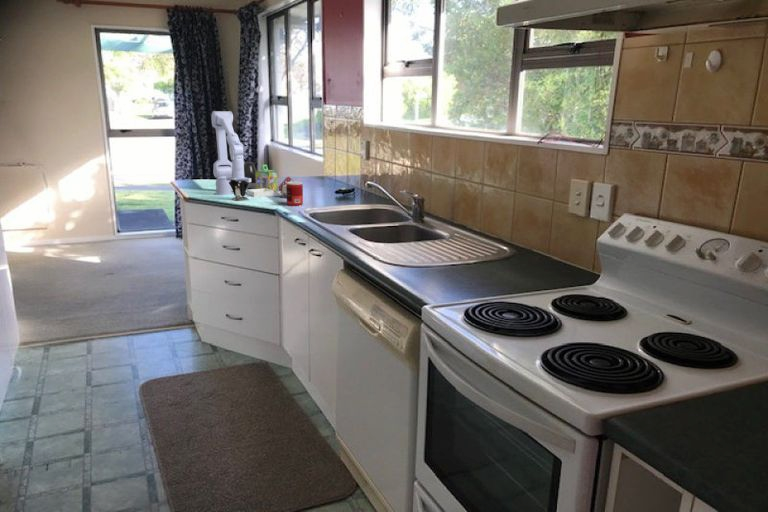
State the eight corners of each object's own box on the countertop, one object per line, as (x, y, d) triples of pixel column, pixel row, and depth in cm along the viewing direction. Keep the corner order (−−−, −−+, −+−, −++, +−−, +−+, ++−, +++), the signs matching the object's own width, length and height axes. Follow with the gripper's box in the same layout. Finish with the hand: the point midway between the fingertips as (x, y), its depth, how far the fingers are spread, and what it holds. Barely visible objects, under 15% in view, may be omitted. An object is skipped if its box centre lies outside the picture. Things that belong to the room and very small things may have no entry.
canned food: (305, 204, 286) (305, 181, 284) (298, 206, 279) (297, 183, 276) (291, 203, 289) (291, 181, 286) (284, 205, 281) (283, 183, 279)
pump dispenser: (262, 187, 340) (261, 161, 336) (249, 189, 331) (248, 163, 327) (250, 186, 345) (249, 160, 341) (237, 188, 337) (235, 161, 333)
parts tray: (246, 195, 311) (246, 189, 311) (266, 193, 317) (265, 188, 317) (254, 198, 303) (254, 192, 302) (274, 196, 308) (273, 190, 308)
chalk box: (269, 192, 322) (268, 165, 318) (255, 191, 325) (254, 165, 321) (278, 190, 330) (277, 164, 326) (264, 189, 333) (263, 163, 329)
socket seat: (229, 200, 295) (229, 197, 295) (244, 199, 299) (244, 196, 299) (234, 202, 288) (234, 199, 288) (250, 201, 293) (250, 198, 292)
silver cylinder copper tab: (239, 197, 296) (238, 184, 295) (245, 198, 295) (245, 185, 293) (233, 198, 293) (233, 186, 291) (240, 199, 291) (239, 186, 289)
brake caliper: (303, 191, 311) (298, 175, 302) (298, 206, 304) (293, 190, 295) (282, 190, 313) (277, 174, 304) (277, 205, 306) (272, 189, 297)
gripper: (221, 168, 289) (223, 195, 293) (244, 170, 283) (245, 197, 287) (230, 167, 296) (232, 193, 299) (253, 169, 289) (254, 196, 293)
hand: (239, 195), depth 293 cm, fingers closed on silver cylinder copper tab, 4 cm apart
